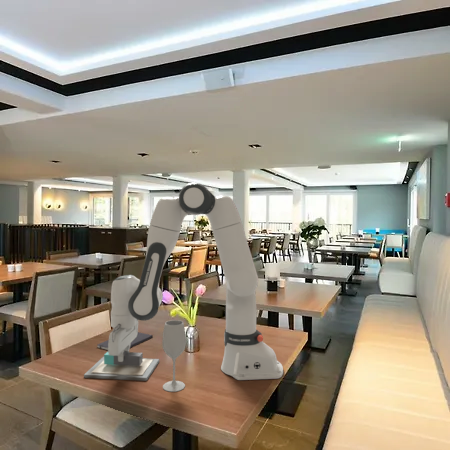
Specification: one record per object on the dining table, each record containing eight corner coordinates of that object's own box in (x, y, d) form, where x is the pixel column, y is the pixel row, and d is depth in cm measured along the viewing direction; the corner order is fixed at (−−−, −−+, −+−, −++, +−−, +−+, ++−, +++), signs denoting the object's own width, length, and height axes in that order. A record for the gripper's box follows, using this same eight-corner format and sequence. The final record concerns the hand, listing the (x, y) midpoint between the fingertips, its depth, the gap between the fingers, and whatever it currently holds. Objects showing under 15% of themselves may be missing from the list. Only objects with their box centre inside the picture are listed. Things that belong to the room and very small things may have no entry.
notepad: (159, 361, 139) (159, 358, 139) (146, 380, 124) (146, 376, 124) (103, 359, 141) (103, 355, 141) (83, 377, 125) (83, 373, 125)
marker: (142, 362, 134) (142, 352, 133) (139, 365, 130) (139, 356, 130) (108, 360, 135) (108, 351, 135) (104, 364, 131) (104, 354, 131)
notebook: (118, 354, 148) (152, 338, 167) (118, 350, 148) (152, 335, 166) (96, 348, 154) (131, 333, 172) (96, 344, 154) (131, 330, 172)
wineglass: (157, 386, 120) (157, 322, 119) (176, 379, 125) (176, 318, 124) (171, 394, 114) (171, 328, 114) (190, 386, 120) (190, 323, 119)
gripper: (121, 329, 121) (121, 371, 122) (141, 313, 142) (141, 348, 142) (103, 329, 122) (103, 370, 122) (125, 312, 142) (125, 347, 143)
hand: (123, 358), depth 132 cm, fingers closed on marker, 3 cm apart
